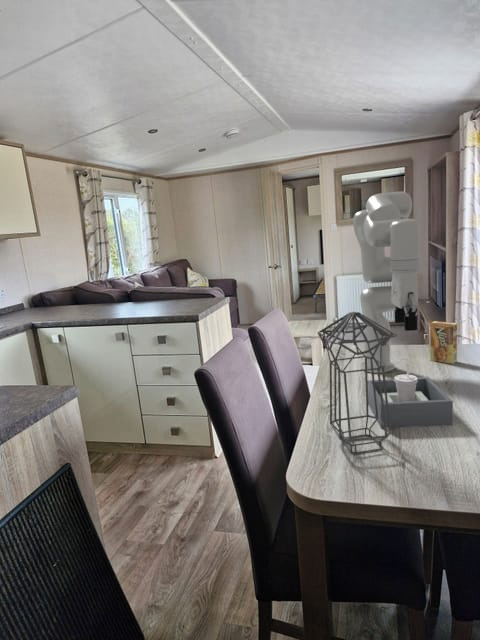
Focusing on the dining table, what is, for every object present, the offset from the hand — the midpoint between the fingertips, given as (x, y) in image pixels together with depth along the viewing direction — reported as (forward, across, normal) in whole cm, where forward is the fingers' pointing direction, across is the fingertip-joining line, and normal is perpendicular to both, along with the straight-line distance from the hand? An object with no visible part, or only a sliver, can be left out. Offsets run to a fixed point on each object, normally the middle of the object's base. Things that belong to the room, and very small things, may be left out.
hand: (405, 326), depth 124 cm
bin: (+26, 0, 0) cm, 26 cm away
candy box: (+26, -45, +27) cm, 59 cm away
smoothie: (+25, 0, 0) cm, 25 cm away
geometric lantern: (+26, +17, -17) cm, 36 cm away
